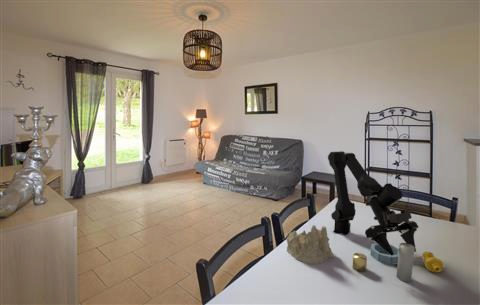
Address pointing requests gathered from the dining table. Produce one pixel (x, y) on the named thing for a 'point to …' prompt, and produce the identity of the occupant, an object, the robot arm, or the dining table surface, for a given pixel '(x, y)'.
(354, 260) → the short brass cylinder
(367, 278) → the dining table surface
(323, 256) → the jagged beige rock
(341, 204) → the robot arm
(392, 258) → the collar
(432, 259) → the pressure relief valve
